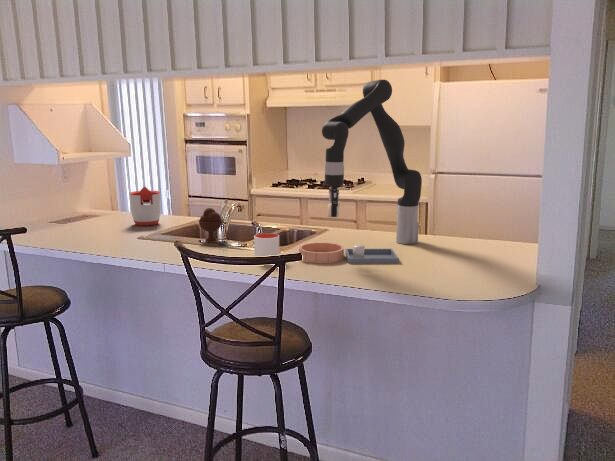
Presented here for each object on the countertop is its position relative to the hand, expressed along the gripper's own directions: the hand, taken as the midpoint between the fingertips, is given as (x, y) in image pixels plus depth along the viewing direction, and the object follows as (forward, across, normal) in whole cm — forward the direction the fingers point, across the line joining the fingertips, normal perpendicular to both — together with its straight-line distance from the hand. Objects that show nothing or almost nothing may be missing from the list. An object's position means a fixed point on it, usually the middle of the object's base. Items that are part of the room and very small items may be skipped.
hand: (333, 215), depth 225 cm
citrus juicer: (+19, +72, +94) cm, 120 cm away
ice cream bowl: (+18, +34, +54) cm, 67 cm away
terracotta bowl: (+18, +1, +5) cm, 18 cm away
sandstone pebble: (0, 0, 0) cm, 0 cm away
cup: (+18, -1, +27) cm, 32 cm away
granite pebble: (+17, -2, -10) cm, 20 cm away
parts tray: (+18, -2, -15) cm, 23 cm away
